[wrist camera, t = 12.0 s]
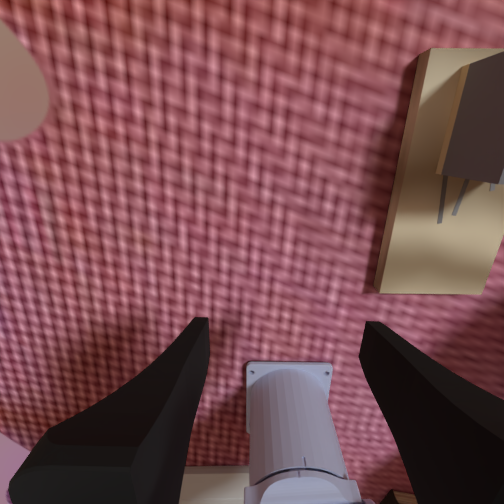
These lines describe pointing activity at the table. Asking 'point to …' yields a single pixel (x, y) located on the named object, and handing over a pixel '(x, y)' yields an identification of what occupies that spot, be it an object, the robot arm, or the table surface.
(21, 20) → the table surface
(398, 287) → the pine board
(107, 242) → the table surface
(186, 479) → the baseboard molding
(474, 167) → the block
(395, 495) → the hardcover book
